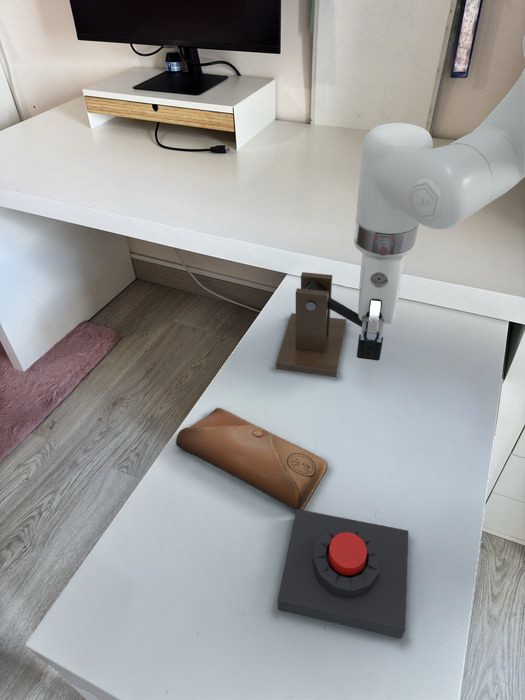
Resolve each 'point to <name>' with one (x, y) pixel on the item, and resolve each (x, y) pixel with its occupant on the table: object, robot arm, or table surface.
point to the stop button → (347, 553)
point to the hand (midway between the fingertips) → (370, 336)
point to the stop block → (346, 591)
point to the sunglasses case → (255, 457)
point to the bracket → (312, 332)
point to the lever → (337, 305)
